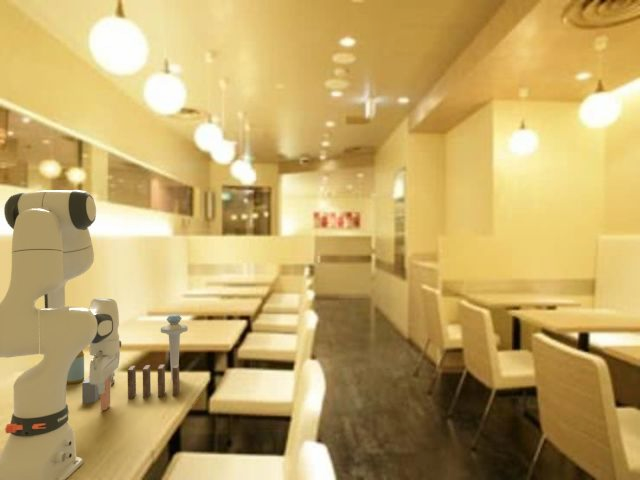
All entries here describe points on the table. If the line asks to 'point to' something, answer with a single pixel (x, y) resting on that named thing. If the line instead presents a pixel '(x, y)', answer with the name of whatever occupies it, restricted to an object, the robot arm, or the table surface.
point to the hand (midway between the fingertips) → (105, 389)
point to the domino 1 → (105, 395)
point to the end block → (89, 392)
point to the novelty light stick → (174, 338)
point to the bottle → (76, 370)
